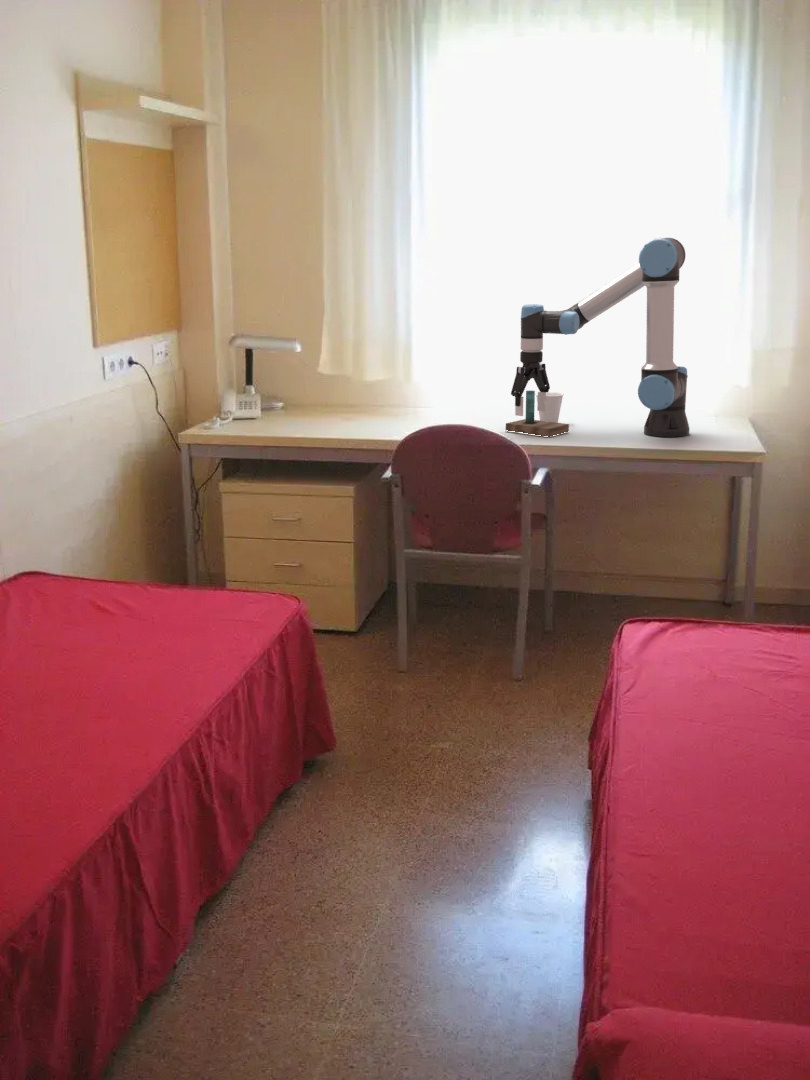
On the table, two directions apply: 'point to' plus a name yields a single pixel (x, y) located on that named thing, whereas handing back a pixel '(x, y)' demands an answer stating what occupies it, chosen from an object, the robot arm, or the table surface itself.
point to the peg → (530, 407)
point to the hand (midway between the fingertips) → (530, 413)
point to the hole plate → (538, 427)
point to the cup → (551, 407)
